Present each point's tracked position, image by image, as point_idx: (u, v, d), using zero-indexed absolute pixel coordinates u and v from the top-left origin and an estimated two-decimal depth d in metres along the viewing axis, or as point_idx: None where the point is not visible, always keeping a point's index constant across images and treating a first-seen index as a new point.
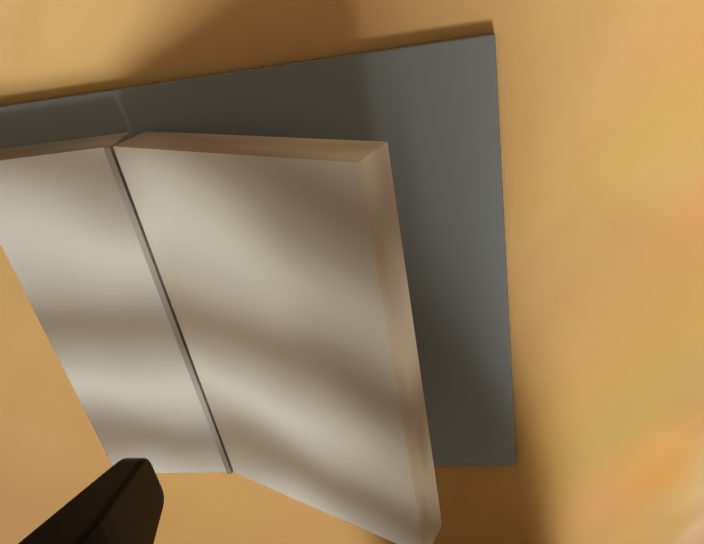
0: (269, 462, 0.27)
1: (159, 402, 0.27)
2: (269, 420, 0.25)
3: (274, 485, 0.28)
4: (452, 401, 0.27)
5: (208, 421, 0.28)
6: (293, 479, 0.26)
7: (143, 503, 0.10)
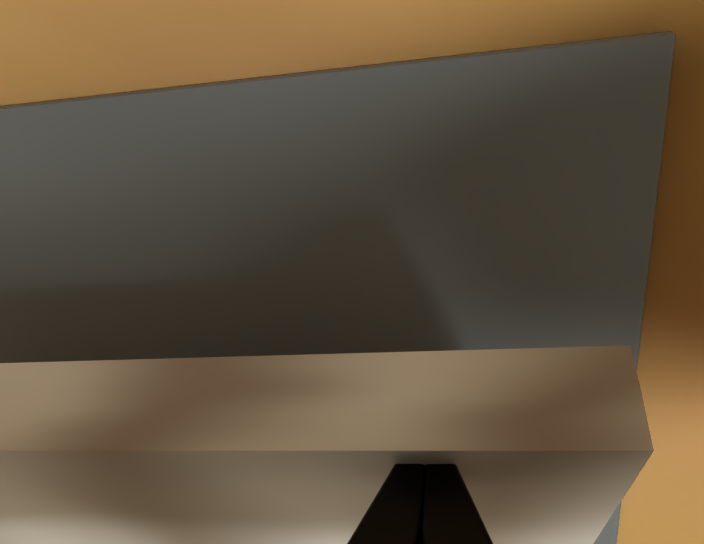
0: None
1: None
2: None
3: None
4: (448, 190, 0.13)
5: None
6: None
7: None
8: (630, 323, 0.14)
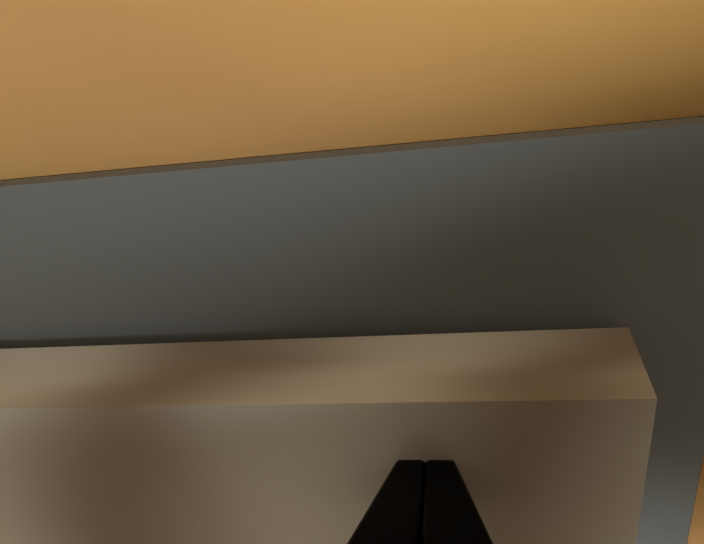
0: None
1: None
2: None
3: None
4: (455, 303, 0.10)
5: None
6: None
7: None
8: (686, 463, 0.11)
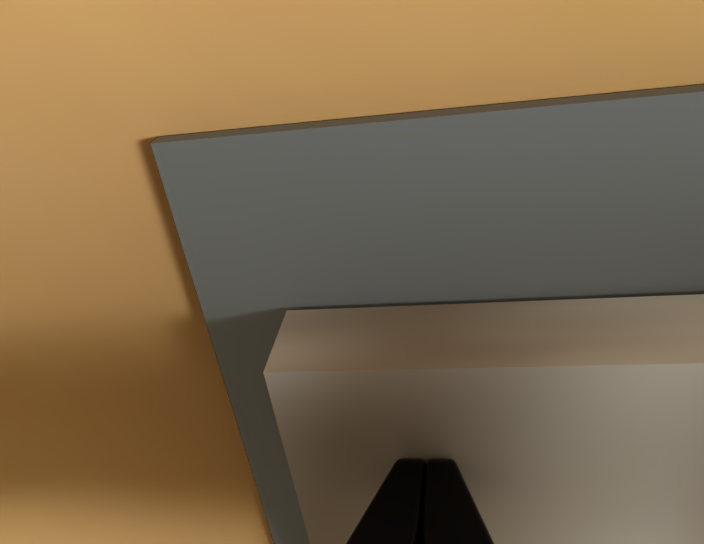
0: None
1: None
2: None
3: None
4: None
5: None
6: None
7: None
8: None
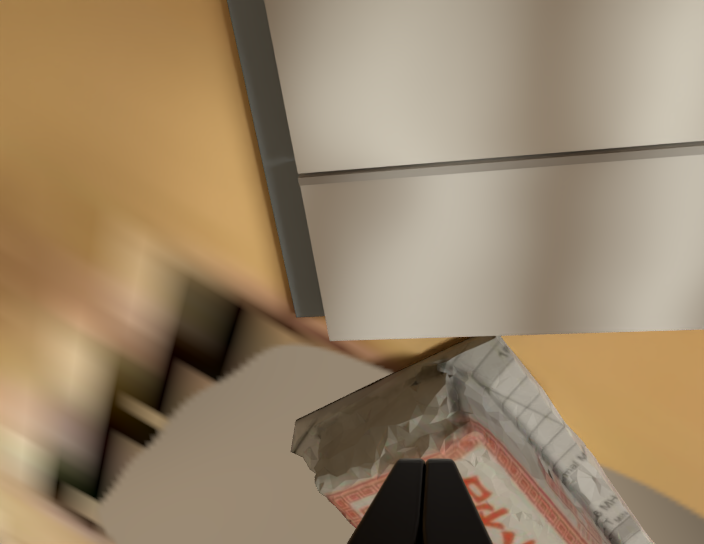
0: None
1: None
2: None
3: None
4: None
5: None
6: None
7: None
8: None
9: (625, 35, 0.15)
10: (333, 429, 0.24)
